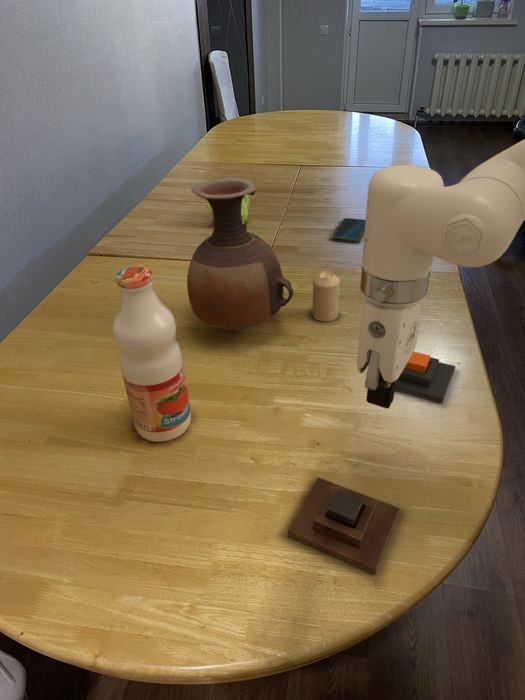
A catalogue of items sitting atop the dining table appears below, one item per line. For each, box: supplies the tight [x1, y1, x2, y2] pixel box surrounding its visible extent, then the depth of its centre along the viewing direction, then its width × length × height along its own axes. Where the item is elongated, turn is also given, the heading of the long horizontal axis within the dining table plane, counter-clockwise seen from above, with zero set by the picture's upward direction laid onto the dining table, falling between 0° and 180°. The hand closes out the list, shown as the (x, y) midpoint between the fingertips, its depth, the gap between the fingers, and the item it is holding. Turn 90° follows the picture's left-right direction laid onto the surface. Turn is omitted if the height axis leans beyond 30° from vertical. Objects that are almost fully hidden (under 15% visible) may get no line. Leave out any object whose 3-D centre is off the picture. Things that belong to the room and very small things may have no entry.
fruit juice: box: [112, 265, 192, 443], centre depth 79 cm, size 9×9×28 cm
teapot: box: [205, 194, 251, 224], centre depth 155 cm, size 12×12×10 cm
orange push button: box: [395, 356, 456, 404], centre depth 93 cm, size 12×10×3 cm
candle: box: [312, 270, 341, 322], centre depth 110 cm, size 6×6×10 cm
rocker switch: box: [327, 489, 364, 528], centre depth 67 cm, size 4×4×2 cm
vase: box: [186, 177, 294, 330], centre depth 101 cm, size 23×19×30 cm
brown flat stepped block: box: [287, 477, 401, 575], centre depth 68 cm, size 12×10×3 cm
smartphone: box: [332, 217, 366, 244], centre depth 148 cm, size 8×15×1 cm, turn 160°
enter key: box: [404, 350, 431, 374], centre depth 92 cm, size 4×4×2 cm
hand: (379, 401), depth 70 cm, fingers closed
